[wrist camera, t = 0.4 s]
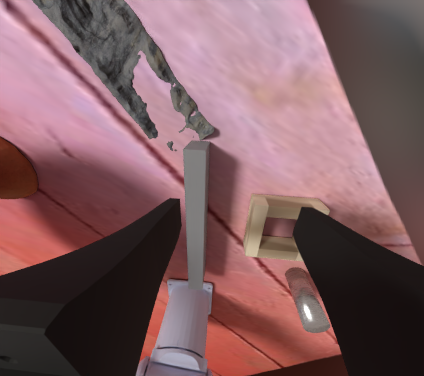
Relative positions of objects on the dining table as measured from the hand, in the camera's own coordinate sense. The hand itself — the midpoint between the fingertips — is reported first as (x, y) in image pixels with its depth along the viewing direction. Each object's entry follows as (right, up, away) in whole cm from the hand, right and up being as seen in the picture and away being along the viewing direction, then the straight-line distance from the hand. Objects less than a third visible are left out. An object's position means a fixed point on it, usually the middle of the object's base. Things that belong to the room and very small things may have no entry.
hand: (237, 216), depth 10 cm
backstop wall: (-3, -2, +12) cm, 13 cm away
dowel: (+12, -12, +16) cm, 23 cm away
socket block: (+7, -3, +12) cm, 14 cm away
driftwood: (-10, +14, +6) cm, 18 cm away
